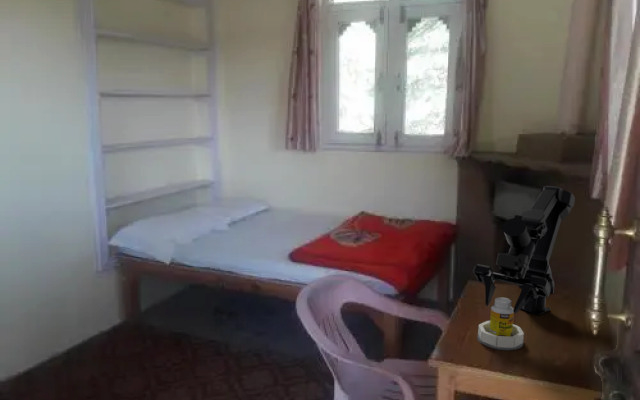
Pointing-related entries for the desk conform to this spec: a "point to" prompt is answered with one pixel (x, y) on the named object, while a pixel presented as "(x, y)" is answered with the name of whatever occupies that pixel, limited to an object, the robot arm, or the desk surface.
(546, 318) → the desk surface
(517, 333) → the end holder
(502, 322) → the supplement bottle
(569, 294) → the desk surface
